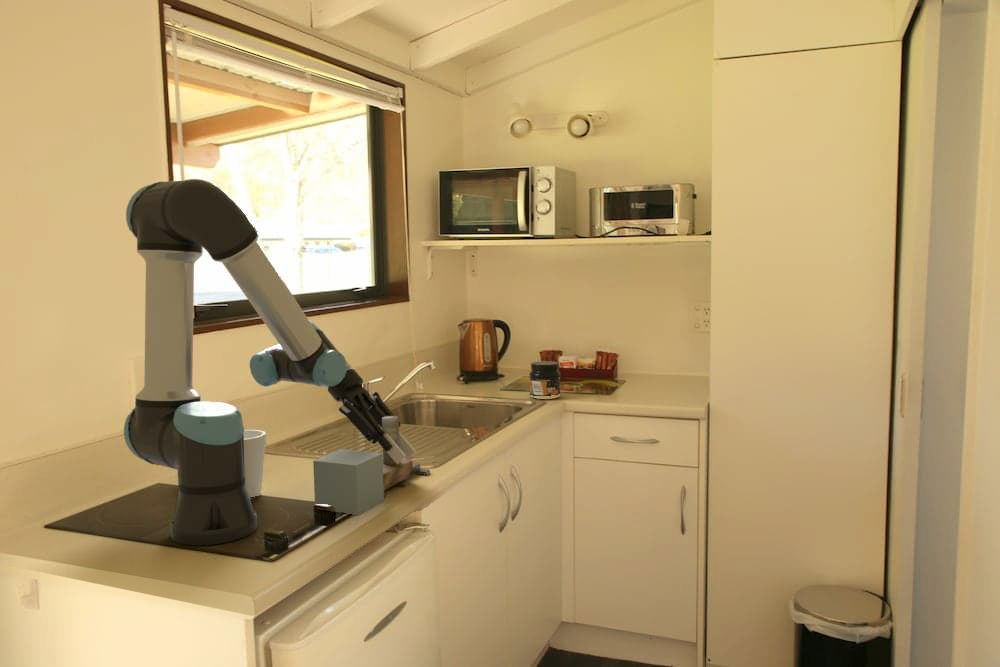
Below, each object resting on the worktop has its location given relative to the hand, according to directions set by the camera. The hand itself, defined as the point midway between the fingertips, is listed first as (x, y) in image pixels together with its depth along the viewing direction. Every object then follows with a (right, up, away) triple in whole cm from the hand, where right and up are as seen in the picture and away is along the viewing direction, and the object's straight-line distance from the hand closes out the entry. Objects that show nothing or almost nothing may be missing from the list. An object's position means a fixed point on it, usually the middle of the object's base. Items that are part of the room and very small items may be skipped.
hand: (406, 457), depth 177 cm
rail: (-4, -6, +2) cm, 7 cm away
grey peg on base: (-5, -6, -1) cm, 8 cm away
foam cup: (-34, -7, -5) cm, 35 cm away
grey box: (-10, -8, -13) cm, 18 cm away
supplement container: (+36, +5, +101) cm, 107 cm away
